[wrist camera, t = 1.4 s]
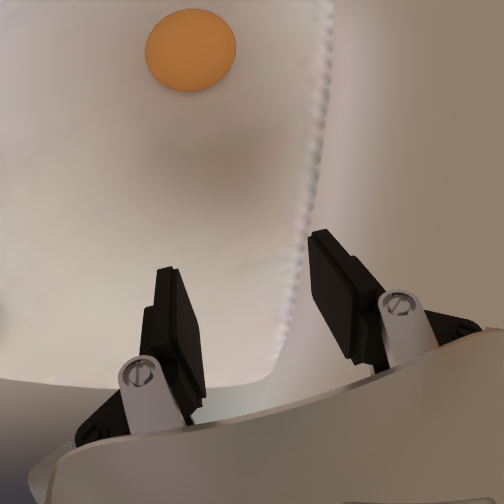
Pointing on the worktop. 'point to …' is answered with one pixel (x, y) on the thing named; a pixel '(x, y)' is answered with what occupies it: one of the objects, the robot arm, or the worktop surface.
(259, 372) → the worktop surface
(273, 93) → the worktop surface
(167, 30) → the ball
